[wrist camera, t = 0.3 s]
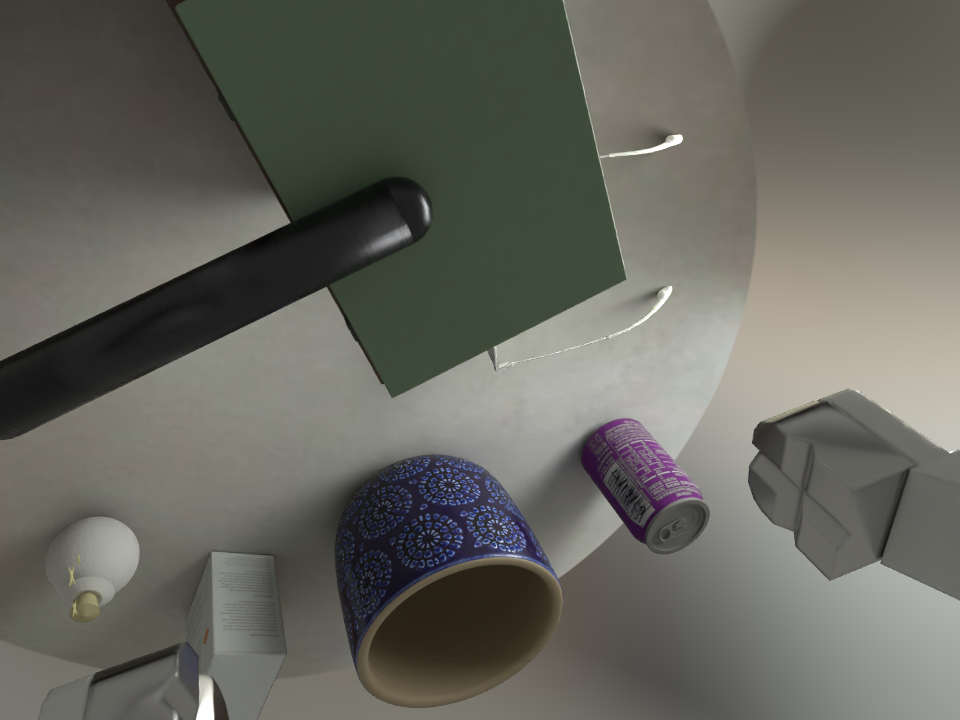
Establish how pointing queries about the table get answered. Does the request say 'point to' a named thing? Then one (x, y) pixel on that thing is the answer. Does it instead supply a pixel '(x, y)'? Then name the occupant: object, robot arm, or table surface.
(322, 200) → the door
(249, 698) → the small box
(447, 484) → the planter
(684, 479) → the beverage can
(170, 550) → the table surface
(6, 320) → the table surface
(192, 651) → the robot arm
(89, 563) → the ornament
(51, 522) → the table surface
